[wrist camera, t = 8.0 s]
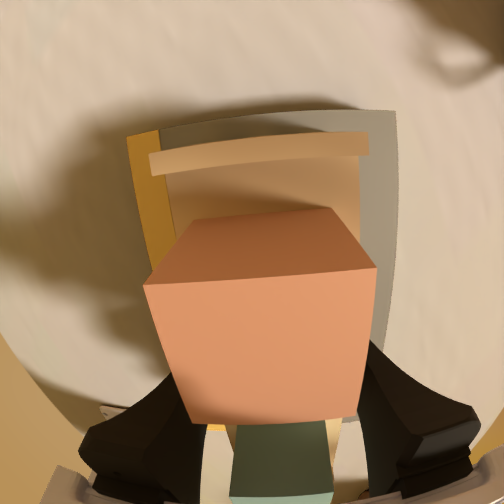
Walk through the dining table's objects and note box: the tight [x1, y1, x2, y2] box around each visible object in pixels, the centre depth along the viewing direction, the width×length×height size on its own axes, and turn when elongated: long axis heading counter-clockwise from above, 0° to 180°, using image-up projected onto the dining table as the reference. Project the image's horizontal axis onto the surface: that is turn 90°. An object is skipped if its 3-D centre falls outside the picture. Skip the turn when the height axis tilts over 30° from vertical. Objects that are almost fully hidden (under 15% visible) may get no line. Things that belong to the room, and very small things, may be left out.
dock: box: [126, 110, 399, 431], centre depth 17 cm, size 20×12×3 cm, turn 6°
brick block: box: [143, 208, 377, 425], centre depth 7 cm, size 4×4×4 cm
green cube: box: [229, 420, 334, 504], centre depth 11 cm, size 4×4×4 cm
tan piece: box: [149, 132, 369, 482], centre depth 13 cm, size 18×6×6 cm, turn 6°
